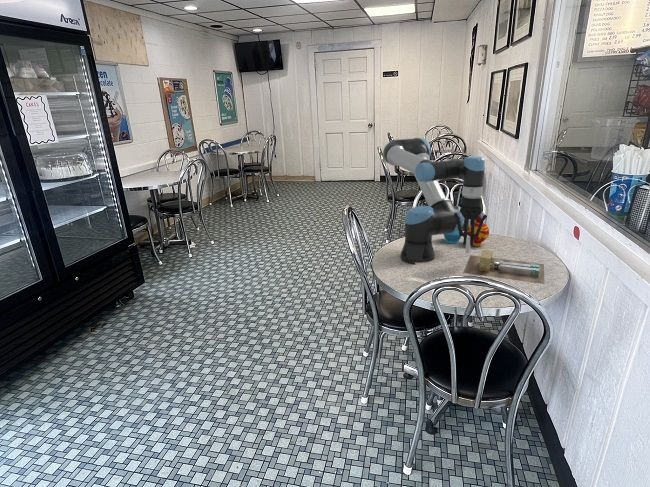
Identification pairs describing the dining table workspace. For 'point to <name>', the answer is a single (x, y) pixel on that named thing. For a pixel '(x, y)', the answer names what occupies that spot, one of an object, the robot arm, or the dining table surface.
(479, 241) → the red yellow vase
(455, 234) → the blue vase
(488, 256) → the translucent yellow block
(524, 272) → the tongs fixed arm
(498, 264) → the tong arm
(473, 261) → the walnut board
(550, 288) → the dining table surface
